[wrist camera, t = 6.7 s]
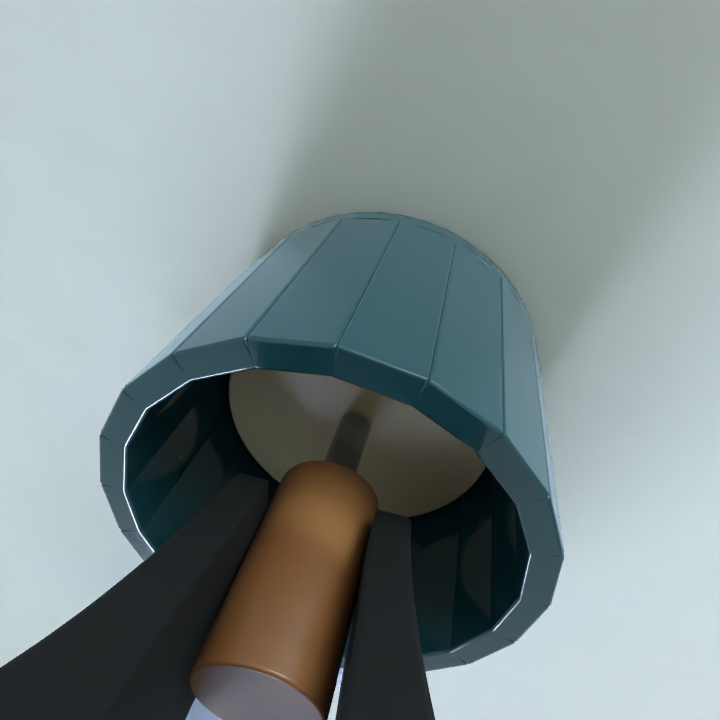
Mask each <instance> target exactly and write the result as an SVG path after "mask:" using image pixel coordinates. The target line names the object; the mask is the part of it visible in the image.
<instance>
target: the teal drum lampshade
mask: <svg viewBox="0 0 720 720" xmlns="http://www.w3.org/2000/svg"><path fill="white" fill-rule="evenodd" d="M251 369H265V370H275V371H285V372H295V373H305V374H315V375H324V376H332V377H335V378H337V379H340V380H343V381H345V382H348V383H351V384H353V385H356V386H359V387H361V388H364V389H367V390H369V391H372V392H375V393H377V394H380V395H383V396H385V397H388V398H391V399H393V400H396V401H399V402H401V403H404V404H407V405H409V406H412V407H414V408H415V409H416V410H418V411H419V412H421V413H422V414H423V415H425V416H426V417H428V418H429V419H431V420H432V421H433V422H435V423H436V424H438V425H439V426H440V427H442V428H443V429H445V430H446V431H448V432H449V433H450V434H452V435H453V436H455V437H456V438H457V439H459V440H460V441H462V442H463V443H465V444H466V445H467V446H469V447H470V448H472V449H473V450H474V451H475V452H476V454H477V455H478V456H479V458H480V459H481V460H482V461H483V463H484V464H485V465H486V468H485V470H484V471H483V473H482V474H481V475H480V477H479V478H478V480H477V481H476V482H475V483H474V484H473V485H472V486H471V487H470V488H469V489H468V490H467V491H466V492H465V493H464V494H462V495H461V496H460V497H458V498H457V499H456V500H454V501H452V502H451V503H449V504H447V505H445V506H443V507H441V508H439V509H436V510H434V511H431V512H428V513H424V514H421V515H417V516H412V517H408V518H409V520H410V521H411V522H412V526H411V569H412V581H413V593H414V602H415V610H416V617H417V624H418V631H419V638H420V645H421V650H422V656H423V662H424V668H425V671H431V670H437V669H443V668H449V667H455V666H461V665H466V664H471V663H473V662H475V661H477V660H479V659H481V658H484V657H486V656H488V655H490V654H492V653H494V652H497V651H499V650H501V649H503V648H505V647H507V646H509V645H512V644H514V642H515V641H517V640H518V639H519V638H520V637H521V636H522V635H523V634H524V633H525V632H526V631H527V630H528V629H529V628H530V627H531V625H532V624H533V623H534V622H535V621H536V620H537V619H538V618H539V617H540V616H541V615H542V614H543V613H544V612H545V611H546V610H547V609H548V607H549V606H550V605H551V602H552V599H553V595H554V592H555V588H556V585H557V581H558V577H559V574H560V570H561V567H562V563H563V560H564V547H563V539H562V532H561V524H560V516H559V509H558V501H557V493H556V486H555V478H554V470H553V463H552V455H551V447H550V439H549V432H548V424H547V416H546V409H545V401H544V393H543V386H542V378H541V370H540V364H539V359H538V354H537V349H536V343H535V338H534V332H533V327H532V324H531V321H530V319H529V316H528V313H527V310H526V307H525V306H524V304H523V302H522V300H521V298H520V296H519V295H518V293H517V291H516V289H515V288H514V286H513V285H512V284H511V282H510V281H509V280H508V278H507V277H506V276H505V274H504V273H503V272H502V271H501V270H500V269H499V268H498V267H497V266H496V265H495V264H494V263H493V262H492V261H491V260H490V259H489V258H488V257H487V256H486V255H485V254H483V253H482V252H481V251H479V250H478V249H477V248H476V247H474V246H473V245H472V244H470V243H469V242H467V241H466V240H464V239H462V238H460V237H459V236H457V235H455V234H453V233H452V232H450V231H448V230H446V229H443V228H441V227H438V226H436V225H433V224H431V223H429V222H426V221H422V220H419V219H415V218H411V217H407V216H403V215H396V214H388V213H351V214H344V215H337V216H333V217H329V218H326V219H322V220H319V221H315V222H313V223H311V224H309V225H307V226H304V227H302V228H300V229H298V230H296V231H294V232H293V233H291V234H290V235H288V236H287V237H285V238H283V239H282V240H280V241H279V242H278V243H277V244H276V245H275V246H274V247H273V248H271V249H270V250H269V251H268V252H267V253H265V254H264V255H263V256H261V257H260V258H259V259H258V260H256V261H255V262H254V263H253V264H252V265H251V266H250V267H249V268H248V269H247V270H246V271H245V272H244V273H243V274H242V275H240V276H239V277H238V278H237V279H236V280H235V281H234V282H233V283H232V284H231V285H230V286H229V287H228V288H227V289H226V290H225V291H224V292H223V293H222V294H221V295H220V296H219V297H217V298H216V299H215V300H214V301H213V302H212V303H211V304H210V305H209V306H208V307H207V308H206V309H205V310H204V311H203V312H202V313H201V314H200V315H199V316H198V317H197V318H195V319H194V320H193V321H192V322H191V323H190V324H189V325H188V326H187V327H186V328H185V329H184V330H183V331H182V332H181V333H180V334H179V335H178V336H177V337H176V338H175V339H174V340H172V341H171V342H170V343H169V344H168V345H167V346H166V347H165V348H164V349H163V350H162V351H161V352H160V353H159V354H158V355H157V356H156V357H155V358H154V359H153V360H152V361H151V362H149V363H148V364H147V365H146V366H145V367H144V368H143V369H142V370H141V371H140V372H139V373H138V374H137V375H136V376H135V377H134V378H133V379H132V380H131V381H130V382H129V383H127V384H126V385H125V387H124V388H123V389H122V390H121V392H120V394H119V396H118V398H117V400H116V402H115V404H114V406H113V408H112V410H111V412H110V414H109V417H108V419H107V421H106V423H105V425H104V427H103V429H102V431H101V434H100V482H101V483H102V488H103V490H104V492H105V495H106V497H107V500H108V502H109V505H110V507H111V510H112V512H113V514H114V517H115V519H116V522H117V524H118V527H119V528H120V529H121V532H122V533H123V535H124V536H125V537H126V538H127V540H128V541H129V542H130V544H131V545H132V546H133V547H134V549H135V550H136V551H137V553H138V554H139V555H140V556H141V558H142V559H143V560H144V561H145V560H146V559H147V558H148V557H150V556H151V555H152V554H153V553H154V552H155V551H156V550H158V549H159V548H160V547H161V546H162V545H163V544H164V543H165V542H167V541H168V540H169V539H170V538H171V537H172V536H173V535H174V534H175V533H177V532H178V531H179V530H180V529H181V528H182V527H183V526H184V525H185V524H186V523H188V522H189V521H190V520H191V519H192V518H193V517H194V516H195V515H196V514H197V513H198V512H199V511H200V510H201V509H202V508H203V507H204V506H205V505H206V504H207V503H208V502H209V501H210V500H211V499H212V498H213V497H214V496H215V495H216V494H217V493H218V492H219V491H220V490H221V489H222V488H223V487H224V486H225V485H226V484H227V483H228V482H229V481H230V480H231V479H232V478H233V477H234V476H235V475H237V474H239V473H242V474H246V475H250V476H254V477H257V478H261V479H265V480H269V488H268V507H269V505H270V503H271V501H272V499H273V497H274V495H275V493H276V491H277V489H278V486H279V484H280V483H279V482H278V481H277V480H276V479H274V478H273V477H272V476H271V475H270V474H269V473H268V472H267V471H266V470H265V469H263V467H262V466H261V465H260V464H259V463H258V462H257V461H256V459H255V458H254V457H253V456H252V454H251V453H250V451H249V450H248V449H247V447H246V446H245V444H244V442H243V440H242V439H241V437H240V435H239V433H238V431H237V428H236V426H235V423H234V421H233V417H232V413H231V409H230V401H229V380H230V374H231V373H236V372H241V371H246V370H251ZM349 631H350V630H349ZM348 637H349V634H348ZM347 643H348V638H347V642H346V646H345V650H344V654H343V658H342V662H341V666H340V668H343V669H344V662H345V656H346V650H347Z"/></svg>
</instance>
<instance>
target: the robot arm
mask: <svg viewBox="0 0 720 720" xmlns="http://www.w3.org/2000/svg"><path fill="white" fill-rule="evenodd" d="M268 488H269V480H265V479H261V478H257V477H254V476H250V475H246V474H242V473H239V474H237V475H235V476H234V477H233V478H232V479H231V480H230V481H229V482H228V483H227V484H226V485H225V486H224V487H223V488H222V489H221V490H220V491H219V492H218V493H217V494H216V495H215V496H214V497H213V498H212V499H211V500H210V501H209V502H208V503H207V504H206V505H205V506H204V507H203V508H202V509H201V510H200V511H199V512H198V513H197V514H196V515H195V516H194V517H193V518H192V519H191V520H190V521H189V522H188V523H186V524H185V525H184V526H183V527H182V528H181V529H180V530H179V531H178V532H177V533H175V534H174V535H173V536H172V537H171V538H170V539H169V540H168V541H167V542H165V543H164V544H163V545H162V546H161V547H160V548H159V549H158V550H156V551H155V552H154V553H153V554H152V555H151V556H150V557H148V558H147V559H146V560H145V561H144V562H143V563H141V564H140V565H139V566H138V567H137V568H135V569H134V570H133V571H132V572H130V573H129V574H128V575H127V576H126V577H124V578H123V579H122V580H121V581H119V582H118V583H117V584H116V585H115V586H113V587H112V588H111V589H110V590H108V591H107V592H106V593H105V594H103V595H102V596H101V597H100V598H98V599H97V600H96V601H94V602H93V603H92V604H90V605H89V606H88V607H87V608H85V609H84V610H83V611H81V612H80V613H79V614H77V615H76V616H74V617H73V618H72V619H70V620H69V621H68V622H66V623H65V624H63V625H62V626H61V627H59V628H58V629H57V630H55V631H54V632H52V633H51V634H50V635H48V636H47V637H45V638H44V639H43V640H41V641H40V642H38V643H37V644H35V645H34V646H32V647H31V648H29V649H28V650H26V651H25V652H23V653H22V654H20V655H19V656H17V657H16V658H14V659H13V660H11V661H10V662H8V663H7V664H5V665H4V666H2V667H1V668H0V720H222V719H221V718H219V717H218V716H216V715H215V714H213V713H212V712H211V711H209V710H208V709H207V708H206V707H205V706H203V705H202V704H201V703H200V702H199V700H198V699H197V698H196V697H195V695H194V694H193V692H192V691H191V688H190V685H189V674H190V670H191V668H192V666H193V664H194V662H195V660H196V658H197V656H198V654H199V652H200V650H201V647H202V645H203V643H204V641H205V639H206V637H207V635H208V633H209V631H210V629H211V627H212V624H213V622H214V620H215V618H216V616H217V614H218V612H219V610H220V608H221V606H222V604H223V601H224V599H225V597H226V595H227V593H228V591H229V589H230V587H231V585H232V583H233V581H234V578H235V576H236V574H237V572H238V570H239V568H240V566H241V564H242V562H243V560H244V558H245V555H246V553H247V551H248V549H249V547H250V545H251V543H252V541H253V539H254V537H255V535H256V532H257V530H258V528H259V526H260V524H261V522H262V520H263V518H264V516H265V514H266V512H267V509H268ZM411 526H412V522H411V521H410V520H409V518H408V517H405V516H401V515H397V514H394V513H390V512H386V511H382V510H378V509H377V510H376V514H375V517H374V521H373V525H372V529H371V532H370V536H369V540H368V544H367V549H366V554H365V558H364V563H363V568H362V572H361V577H360V582H359V588H358V594H357V600H356V605H355V609H354V613H353V617H352V621H351V626H350V631H349V637H348V643H347V650H346V656H345V662H344V669H343V668H340V670H339V674H338V679H337V683H340V682H341V688H340V694H339V701H338V707H337V714H336V720H435V717H434V712H433V708H432V703H431V698H430V693H429V688H428V683H427V678H426V673H425V668H424V662H423V656H422V650H421V645H420V638H419V631H418V624H417V617H416V610H415V602H414V593H413V581H412V569H411Z"/></svg>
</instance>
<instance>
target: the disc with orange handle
mask: <svg viewBox="0 0 720 720" xmlns="http://www.w3.org/2000/svg"><path fill="white" fill-rule="evenodd" d="M229 401H230V409H231V413H232V417H233V421H234V423H235V426H236V428H237V431H238V433H239V435H240V437H241V439H242V440H243V442H244V444H245V446H246V447H247V449H248V450H249V451H250V453H251V454H252V456H253V457H254V458H255V459H256V461H257V462H258V463H259V464H260V465H261V466H262V467H263V469H265V470H266V471H267V472H268V473H269V474H270V475H271V476H272V477H273V478H274V479H276V480H277V481H278V482H279V483H280V484H279V486H278V489H277V491H276V493H275V495H274V497H273V499H272V501H271V503H270V505H269V507H268V509H267V512H266V514H265V516H264V518H263V520H262V522H261V524H260V526H259V528H258V530H257V532H256V535H255V537H254V539H253V541H252V543H251V545H250V547H249V549H248V551H247V553H246V555H245V558H244V560H243V562H242V564H241V566H240V568H239V570H238V572H237V574H236V576H235V578H234V581H233V583H232V585H231V587H230V589H229V591H228V593H227V595H226V597H225V599H224V601H223V604H222V606H221V608H220V610H219V612H218V614H217V616H216V618H215V620H214V622H213V624H212V627H211V629H210V631H209V633H208V635H207V637H206V639H205V641H204V643H203V645H202V647H201V650H200V652H199V654H198V656H197V658H196V660H195V662H194V664H193V666H192V668H191V670H190V674H189V685H190V688H191V691H192V692H193V694H194V695H195V697H196V698H197V699H198V700H199V702H200V703H201V704H202V705H203V706H205V707H206V708H207V709H208V710H209V711H211V712H212V713H213V714H215V715H216V716H218V717H219V718H221V719H222V720H327V719H328V715H329V711H330V707H331V703H332V699H333V695H334V691H335V687H336V683H337V679H338V674H339V670H340V666H341V662H342V658H343V654H344V650H345V646H346V642H347V638H348V634H349V630H350V626H351V621H352V617H353V613H354V609H355V605H356V600H357V594H358V588H359V582H360V577H361V572H362V568H363V563H364V558H365V554H366V549H367V544H368V540H369V536H370V532H371V529H372V525H373V521H374V517H375V514H376V510H377V509H378V510H382V511H386V512H390V513H394V514H397V515H401V516H405V517H412V516H417V515H421V514H424V513H428V512H431V511H434V510H436V509H439V508H441V507H443V506H445V505H447V504H449V503H451V502H452V501H454V500H456V499H457V498H458V497H460V496H461V495H462V494H464V493H465V492H466V491H467V490H468V489H469V488H470V487H471V486H472V485H473V484H474V483H475V482H476V481H477V480H478V478H479V477H480V475H481V474H482V473H483V471H484V470H485V468H486V465H485V464H484V463H483V461H482V460H481V459H480V458H479V456H478V455H477V454H476V452H475V451H474V450H473V449H472V448H470V447H469V446H467V445H466V444H465V443H463V442H462V441H460V440H459V439H457V438H456V437H455V436H453V435H452V434H450V433H449V432H448V431H446V430H445V429H443V428H442V427H440V426H439V425H438V424H436V423H435V422H433V421H432V420H431V419H429V418H428V417H426V416H425V415H423V414H422V413H421V412H419V411H418V410H416V409H415V408H414V407H412V406H409V405H407V404H404V403H401V402H399V401H396V400H393V399H391V398H388V397H385V396H383V395H380V394H377V393H375V392H372V391H369V390H367V389H364V388H361V387H359V386H356V385H353V384H351V383H348V382H345V381H343V380H340V379H337V378H335V377H332V376H324V375H315V374H305V373H295V372H285V371H275V370H265V369H251V370H246V371H241V372H236V373H231V374H230V380H229Z"/></svg>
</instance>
